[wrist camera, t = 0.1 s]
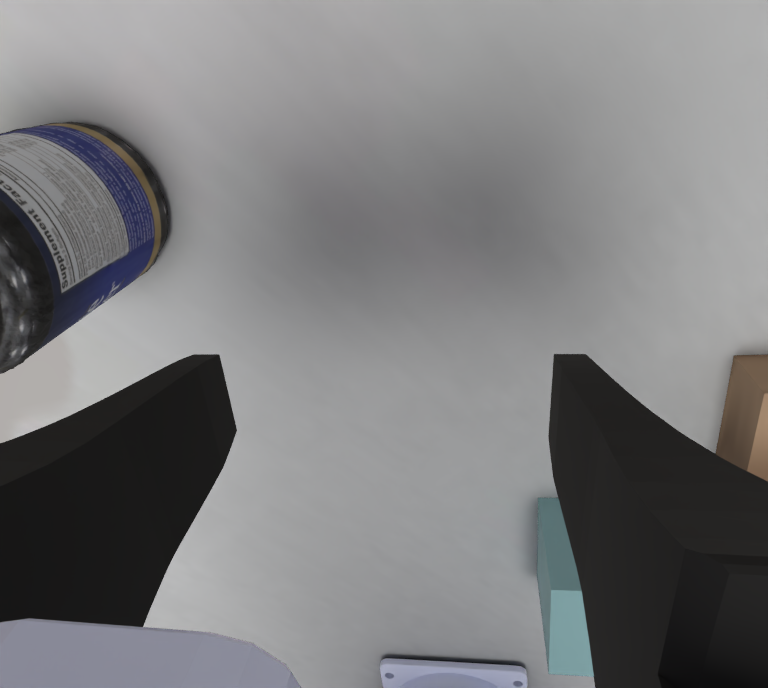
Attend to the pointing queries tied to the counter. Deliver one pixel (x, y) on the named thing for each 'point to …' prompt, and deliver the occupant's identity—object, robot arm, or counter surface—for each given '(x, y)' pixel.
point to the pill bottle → (69, 229)
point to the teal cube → (560, 595)
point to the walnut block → (746, 416)
